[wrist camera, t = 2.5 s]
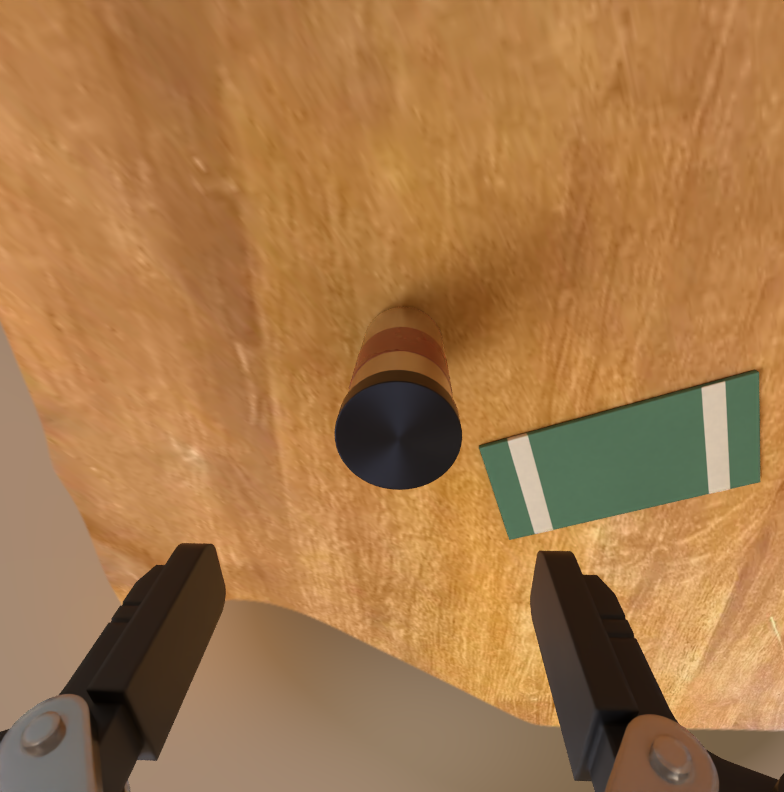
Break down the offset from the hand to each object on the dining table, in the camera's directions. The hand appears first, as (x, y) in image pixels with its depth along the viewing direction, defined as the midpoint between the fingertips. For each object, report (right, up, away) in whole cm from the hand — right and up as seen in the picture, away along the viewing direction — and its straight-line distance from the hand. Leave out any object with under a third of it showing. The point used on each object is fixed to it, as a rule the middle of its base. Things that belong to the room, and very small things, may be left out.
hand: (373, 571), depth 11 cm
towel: (+18, -1, +24) cm, 31 cm away
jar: (+1, +8, +21) cm, 22 cm away
